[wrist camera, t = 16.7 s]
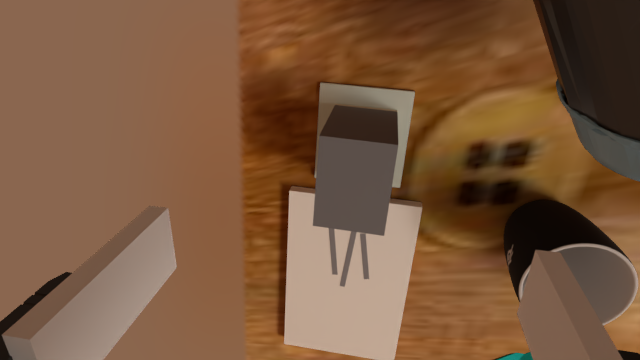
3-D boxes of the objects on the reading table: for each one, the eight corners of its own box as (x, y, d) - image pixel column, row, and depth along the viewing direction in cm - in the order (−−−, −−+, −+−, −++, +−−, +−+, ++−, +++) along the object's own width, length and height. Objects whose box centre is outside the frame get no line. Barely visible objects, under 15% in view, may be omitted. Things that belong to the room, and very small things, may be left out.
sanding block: (335, 103, 41) (319, 135, 32) (397, 110, 40) (398, 145, 32) (329, 178, 45) (312, 225, 36) (386, 185, 44) (384, 235, 35)
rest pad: (320, 82, 41) (320, 82, 41) (414, 90, 40) (415, 91, 40) (315, 175, 45) (314, 177, 45) (399, 186, 44) (399, 187, 44)
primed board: (291, 185, 46) (289, 190, 45) (421, 202, 44) (422, 207, 43) (286, 336, 55) (284, 344, 54) (393, 355, 54) (393, 362, 53)
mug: (481, 204, 44) (504, 261, 34) (575, 175, 41) (627, 229, 32) (513, 293, 47) (542, 366, 38) (601, 272, 45) (655, 345, 35)
